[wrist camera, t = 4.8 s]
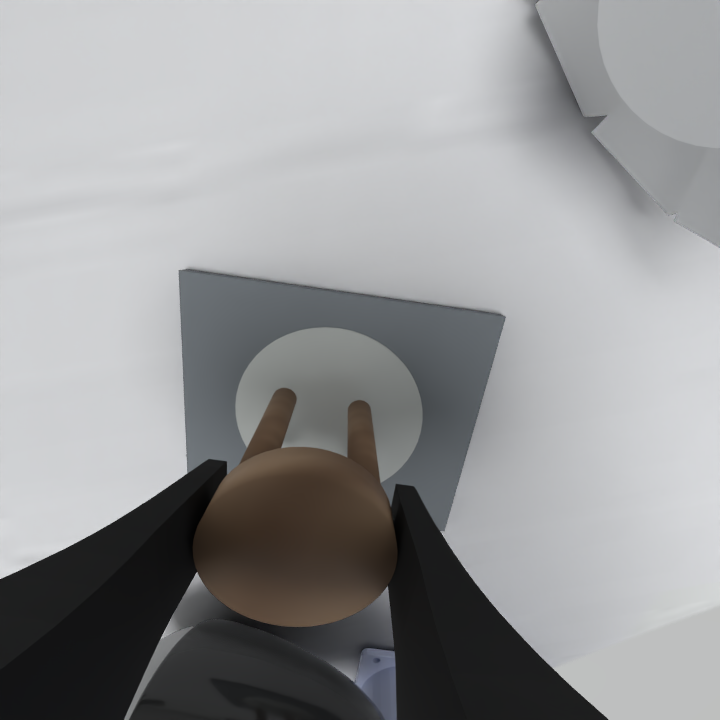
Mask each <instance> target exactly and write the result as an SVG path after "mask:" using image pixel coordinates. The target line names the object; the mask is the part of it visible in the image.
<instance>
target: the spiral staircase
mask: <svg viewBox="0 0 720 720" xmlns="http://www.w3.org/2000/svg"><path fill="white" fill-rule="evenodd" d="M535 6H536V8H537V11H538V13H539V15H540V18H541V20H542V22H543V25H544V27H545V29H546V32H547V34H548V36H549V38H550V41H551V43H552V45H553V48H554V50H555V52H556V55H557V57H558V59H559V61H560V64H561V66H562V68H563V71H564V73H565V75H566V78H567V80H568V82H569V84H570V87H571V89H572V91H573V94H574V96H575V98H576V101H577V103H578V105H579V107H580V110H581V112H582V114H583V116H584V117H593V116H605V115H608V116H607V117H606V118H605V119H604V120H603V121H602V122H601V123H600V124H599V125H598V126H597V127H596V128H595V129H594V130H593V131H592V132H591V133H592V134H593V135H594V136H595V137H596V138H597V139H598V140H599V142H600V143H601V144H602V145H603V146H604V147H605V148H606V149H607V150H608V151H609V152H610V153H611V154H612V156H613V157H614V158H615V159H616V160H617V161H618V162H619V163H620V164H621V165H622V166H623V167H624V168H625V169H626V171H627V172H628V173H629V174H630V175H631V176H632V177H633V178H634V179H635V180H636V181H637V182H638V183H639V185H640V186H641V187H642V188H643V189H644V190H645V191H646V192H647V193H648V194H649V195H650V196H651V197H652V199H653V200H654V201H655V202H656V203H657V204H658V205H659V206H660V207H661V208H662V209H663V210H664V211H665V213H666V214H667V215H668V216H669V215H673V214H676V213H677V215H676V218H675V220H674V222H676V223H678V224H680V225H681V226H683V227H685V228H686V229H688V230H690V231H692V232H693V233H695V234H697V235H698V236H700V237H702V238H704V239H705V240H707V241H709V242H710V243H712V244H714V245H716V246H717V247H719V248H720V0H539V1H538V2H537V3H536V4H535Z"/></svg>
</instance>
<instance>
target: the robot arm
mask: <svg viewBox="0 0 720 720" xmlns="http://www.w3.org/2000/svg"><path fill="white" fill-rule="evenodd" d="M226 476H227V461H221V460H214V459H208V460H206V461H205V462H203V463H202V464H200V465H199V466H198V467H196V468H195V469H193V470H192V471H190V472H189V473H188V474H186V475H185V476H183V477H182V478H181V479H179V480H178V481H176V482H175V483H173V484H172V485H171V486H169V487H168V488H166V489H165V490H163V491H162V492H160V493H159V494H157V495H156V496H154V497H153V498H151V499H150V500H148V501H147V502H145V503H144V504H142V505H140V506H139V507H137V508H136V509H134V510H132V511H131V512H129V513H128V514H126V515H124V516H123V517H121V518H120V519H118V520H117V521H115V522H113V523H111V524H110V525H108V526H106V527H104V528H103V529H101V530H99V531H97V532H96V533H94V534H92V535H90V536H88V537H86V538H85V539H83V540H81V541H79V542H77V543H75V544H73V545H71V546H69V547H68V548H66V549H64V550H62V551H59V552H57V553H55V554H53V555H51V556H49V557H47V558H45V559H43V560H41V561H39V562H36V563H34V564H32V565H30V566H28V567H26V568H24V569H22V570H20V571H18V572H15V573H13V574H11V575H9V576H6V577H4V578H2V579H0V720H124V718H125V716H126V714H127V712H128V709H129V707H130V705H131V703H132V700H133V698H134V696H135V694H136V691H137V689H138V687H139V685H140V682H141V680H142V678H143V676H144V673H145V671H146V669H147V667H148V665H149V663H150V660H151V658H152V656H153V654H154V652H155V650H156V647H157V645H158V643H159V641H160V639H161V637H162V634H163V632H164V630H165V628H166V627H167V625H168V623H169V621H170V619H171V617H172V615H173V613H174V611H175V610H176V608H177V606H178V604H179V603H180V601H181V599H182V597H183V595H184V594H185V592H186V590H187V588H188V587H189V585H190V583H191V581H192V580H193V578H194V576H195V574H196V572H197V569H196V567H195V563H194V559H193V540H194V535H195V532H196V529H197V526H198V524H199V522H200V520H201V518H202V517H203V515H204V513H205V511H206V509H207V507H208V505H209V503H210V502H211V500H212V498H213V496H214V494H215V492H216V490H217V488H218V486H219V485H220V483H221V482H222V481H223V479H224V478H225V477H226ZM391 510H392V517H393V523H394V529H395V536H396V542H397V550H398V553H397V564H396V568H395V571H394V574H393V576H392V579H391V581H390V582H389V584H388V590H389V600H390V609H391V619H392V628H393V638H394V650H395V651H389V650H381V649H373V648H366V649H364V650H362V652H361V656H360V661H359V666H358V670H357V675H356V680H355V684H357V685H358V686H359V687H360V688H361V689H362V690H363V691H364V692H365V693H366V694H367V696H368V697H369V698H370V699H371V700H372V701H373V702H374V703H375V705H376V706H377V707H378V709H379V710H380V712H381V713H382V715H383V716H384V718H385V720H608V719H607V718H606V717H605V716H604V715H603V714H602V713H600V712H599V711H598V710H597V709H596V708H595V707H594V706H593V705H591V704H590V703H589V702H588V701H587V700H586V699H585V698H584V697H583V696H581V695H580V694H579V693H578V692H577V691H576V690H575V689H574V688H572V687H571V686H570V685H569V684H568V683H567V682H566V681H565V680H564V679H563V678H562V677H561V676H560V675H559V674H558V673H557V672H556V671H555V670H554V669H553V668H552V667H551V666H550V665H548V664H547V663H546V662H545V661H544V660H543V659H542V658H541V657H540V656H539V655H538V654H537V653H536V652H535V651H534V650H533V649H532V648H531V646H530V645H529V644H528V643H527V642H526V641H525V640H524V639H523V638H522V637H521V636H520V635H519V634H518V633H517V631H516V630H515V629H514V628H513V627H512V626H511V625H510V624H509V623H508V622H507V621H506V620H505V618H504V617H503V616H502V615H501V614H500V613H499V612H498V610H497V609H496V608H495V607H494V606H493V605H492V603H491V602H490V601H489V600H488V599H487V597H486V596H485V595H484V594H483V592H482V591H481V590H480V589H479V587H478V586H477V585H476V583H475V582H474V581H473V579H472V578H471V577H470V575H469V574H468V573H467V571H466V570H465V568H464V567H463V566H462V564H461V563H460V561H459V560H458V558H457V557H456V556H455V554H454V553H453V551H452V550H451V548H450V547H449V545H448V543H447V542H446V540H445V539H444V537H443V535H442V534H441V532H440V531H439V529H438V527H437V526H436V524H435V522H434V521H433V519H432V517H431V515H430V514H429V512H428V510H427V508H426V507H425V505H424V503H423V501H422V499H421V497H420V495H419V493H418V491H417V490H416V488H415V487H414V486H409V485H402V484H396V485H395V490H394V495H393V499H392V504H391Z"/></svg>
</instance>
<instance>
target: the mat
mask: <svg viewBox="0 0 720 720" xmlns="http://www.w3.org/2000/svg"><path fill="white" fill-rule="evenodd" d="M179 289H180V312H181V335H182V358H183V381H184V404H185V427H186V450H187V472H188V473H189V472H190V471H192V470H193V469H195V468H196V467H198V466H199V465H200V464H202V463H203V462H205V461H206V460H208V459H214V460H221V461H227V475H228V474H229V473H230V472H231V471H232V470H233V469H234V468H235V467H237V466H238V465H239V463H240V461H241V459H242V457H243V455H244V453H245V451H246V449H247V447H248V445H249V443H250V441H251V439H252V437H253V435H254V433H255V431H256V429H257V427H258V425H259V423H260V421H261V419H262V417H263V414H264V412H265V410H266V408H267V406H268V404H269V402H270V400H271V398H272V396H273V394H274V392H275V391H276V390H278V389H280V388H289V389H291V390H292V391H293V392H294V393H295V394H296V397H297V401H296V404H295V407H294V411H293V414H292V417H291V420H290V423H289V426H288V429H287V432H286V435H285V438H284V441H283V444H282V447H281V448H286V447H312V448H319V449H324V450H329V451H332V452H335V453H338V454H341V455H343V456H345V457H347V443H348V407H349V405H350V404H351V403H352V402H354V401H357V400H362V401H365V402H367V403H368V404H369V405H370V408H371V414H372V422H373V429H374V437H375V445H376V452H377V460H378V468H379V475H380V483H381V486H382V487H383V489H384V491H385V493H386V495H387V497H388V499H389V502H390V506H391V504H392V499H393V495H394V490H395V485H396V484H402V485H409V486H414V487H415V488H416V490H417V491H418V493H419V495H420V497H421V499H422V501H423V503H424V505H425V507H426V508H427V510H428V512H429V514H430V515H431V517H432V519H433V521H434V522H435V524H436V526H437V527H438V529H439V531H445V527H446V524H447V520H448V517H449V513H450V510H451V506H452V503H453V499H454V496H455V492H456V489H457V485H458V482H459V478H460V475H461V471H462V468H463V464H464V461H465V457H466V454H467V450H468V447H469V443H470V440H471V437H472V433H473V430H474V426H475V423H476V419H477V416H478V412H479V409H480V405H481V402H482V398H483V395H484V391H485V388H486V384H487V381H488V377H489V374H490V370H491V367H492V363H493V360H494V356H495V353H496V349H497V346H498V343H499V339H500V336H501V332H502V329H503V325H504V322H505V318H506V317H505V316H503V315H501V314H495V313H488V312H481V311H474V310H467V309H460V308H453V307H446V306H439V305H432V304H425V303H418V302H411V301H404V300H397V299H390V298H383V297H376V296H369V295H362V294H355V293H348V292H341V291H334V290H327V289H320V288H313V287H306V286H299V285H292V284H285V283H278V282H271V281H264V280H257V279H250V278H243V277H236V276H229V275H222V274H215V273H208V272H201V271H194V270H187V269H186V270H179Z"/></svg>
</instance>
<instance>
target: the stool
mask: <svg viewBox="0 0 720 720" xmlns="http://www.w3.org/2000/svg"><path fill="white" fill-rule="evenodd" d="M296 401H297V397H296V394H295V393H294V392H293V391H292V390H291V389H289V388H280V389H278V390H276V391H275V392H274V394H273V396H272V398H271V400H270V402H269V404H268V406H267V408H266V410H265V412H264V414H263V417H262V419H261V421H260V423H259V425H258V427H257V429H256V431H255V433H254V435H253V437H252V439H251V441H250V443H249V445H248V447H247V449H246V451H245V453H244V455H243V457H242V459H241V461H240V463H239V465H238V466H237V467H235V468H234V469H233V470H232V471H231V472H230V473H229V474H228V475H227V476H226V477H225V478H224V479H223V481H222V482H221V483H220V485H219V486H218V488H217V490H216V492H215V494H214V496H213V498H212V500H211V502H210V503H209V505H208V507H207V509H206V511H205V513H204V515H203V517H202V518H201V520H200V522H199V524H198V526H197V529H196V532H195V535H194V540H193V559H194V563H195V567H196V569H197V572H198V574H199V577H200V578H201V580H202V582H203V583H204V585H205V586H206V587H207V589H208V590H209V591H210V592H211V593H212V594H213V595H214V596H215V597H216V598H217V599H218V600H219V601H220V602H222V603H223V604H224V605H226V606H227V607H229V608H230V609H232V610H234V611H236V612H237V613H239V614H241V615H244V616H246V617H248V618H251V619H254V620H257V621H260V622H263V623H268V624H272V625H279V626H288V627H309V626H317V625H323V624H328V623H332V622H335V621H339V620H342V619H344V618H347V617H349V616H351V615H354V614H355V613H357V612H359V611H361V610H363V609H364V608H366V607H367V606H368V605H370V604H371V603H372V602H373V601H374V600H376V599H377V598H378V597H379V596H380V595H381V593H382V592H383V591H384V590H385V589H386V587H387V586H388V584H389V582H390V581H391V579H392V576H393V574H394V571H395V568H396V564H397V553H398V550H397V542H396V536H395V529H394V523H393V517H392V510H391V506H390V502H389V499H388V497H387V495H386V493H385V491H384V489H383V487H382V486H381V483H380V475H379V468H378V460H377V452H376V445H375V437H374V429H373V422H372V414H371V408H370V405H369V404H368V403H367V402H365V401H362V400H357V401H354V402H352V403H351V404H350V405H349V407H348V443H347V457H345V456H343V455H341V454H338V453H335V452H332V451H329V450H324V449H319V448H312V447H286V448H281V447H282V444H283V441H284V438H285V435H286V432H287V429H288V426H289V423H290V420H291V417H292V414H293V411H294V407H295V404H296Z"/></svg>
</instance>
